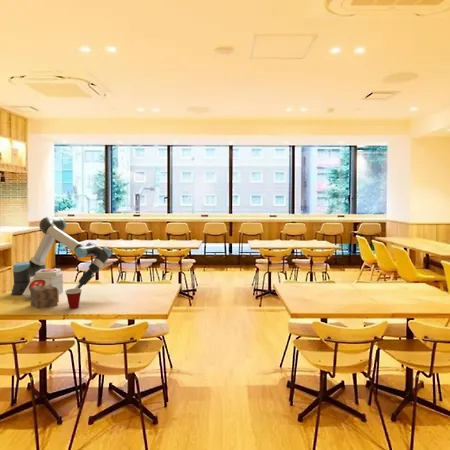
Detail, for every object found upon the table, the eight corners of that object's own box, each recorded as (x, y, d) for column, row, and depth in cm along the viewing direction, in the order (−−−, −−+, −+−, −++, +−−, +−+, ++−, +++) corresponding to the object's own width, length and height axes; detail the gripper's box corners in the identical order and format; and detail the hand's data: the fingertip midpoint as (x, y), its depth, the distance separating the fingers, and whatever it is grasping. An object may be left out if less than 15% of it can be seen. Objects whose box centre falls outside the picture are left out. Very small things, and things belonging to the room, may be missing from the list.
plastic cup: (64, 310, 291) (63, 292, 290) (66, 306, 302) (66, 288, 301) (81, 309, 293) (80, 291, 292) (83, 305, 304) (82, 288, 303)
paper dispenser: (20, 299, 321) (19, 275, 319) (45, 290, 350) (44, 268, 348) (43, 300, 316) (42, 276, 315) (67, 291, 346) (66, 268, 344)
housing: (49, 301, 314) (49, 284, 313) (57, 305, 304) (56, 287, 303) (31, 305, 305) (30, 287, 304) (38, 308, 295) (37, 290, 294)
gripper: (103, 269, 326) (82, 295, 316) (95, 267, 335) (74, 292, 326) (96, 263, 322) (75, 289, 312) (88, 261, 331) (67, 286, 322)
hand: (75, 291), depth 319 cm, fingers closed
